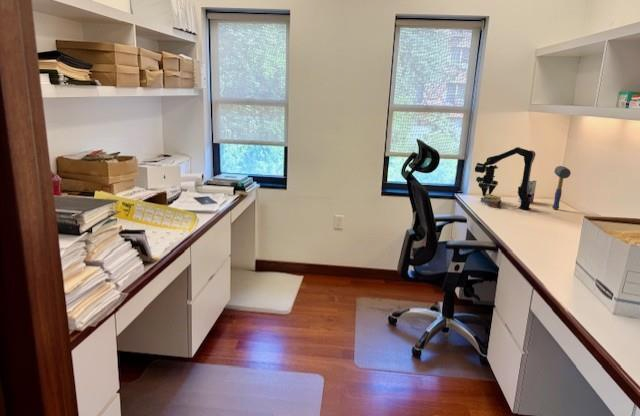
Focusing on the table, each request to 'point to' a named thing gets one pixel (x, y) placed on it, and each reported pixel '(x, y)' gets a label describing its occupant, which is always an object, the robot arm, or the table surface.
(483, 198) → the block
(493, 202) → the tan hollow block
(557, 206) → the rubber mallet
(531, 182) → the candy bar box
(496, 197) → the brass rod
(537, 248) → the table surface
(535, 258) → the table surface
